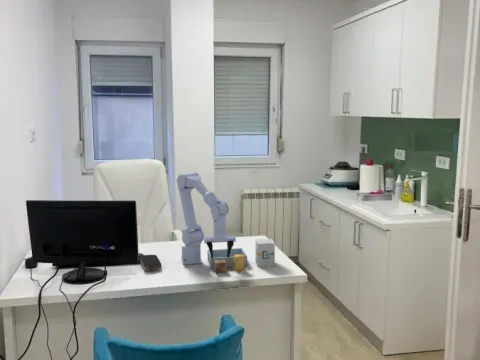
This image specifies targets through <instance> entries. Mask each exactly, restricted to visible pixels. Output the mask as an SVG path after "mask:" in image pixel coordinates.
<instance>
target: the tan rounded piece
mask: <svg viewBox="0 0 480 360" xmlns="http://www.w3.org/2000/svg"><path fill="white" fill-rule="evenodd" d="M233 271H234V272H235V271H236V272H237V273H243V272H245V266H244V255H242V254H236V255H234V267H233Z"/></svg>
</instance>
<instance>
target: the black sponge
mask: <svg viewBox="0 0 480 360" xmlns="http://www.w3.org/2000/svg"><path fill="white" fill-rule="evenodd" d="M139 258H140V259H139V261H140V264H141V265H142V268H143V269H144V271H146V272H147V271H148V272H149V271H161V270H162V268H163V267H162V262H161V261H160V259H159V257H158V256H157V254H142V255H140V257H139Z"/></svg>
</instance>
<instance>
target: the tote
mask: <svg viewBox="0 0 480 360" xmlns="http://www.w3.org/2000/svg"><path fill="white" fill-rule="evenodd" d="M206 252H207V253H206V254H207V262H208V264H209V267H210V269H214V260H221V259H225V261H226V267H227V268H234V255H236V254H242V255H244V267H247V266H248V256H247V255H248V254H246V252H245V251H244V249H243V248H242V247H237V248H232V249H231V252H230V256H229V257H227V248H221V249H219V248H218V249H213V258H211V254H210V251H209V249H207V251H206Z"/></svg>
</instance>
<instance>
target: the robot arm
mask: <svg viewBox="0 0 480 360" xmlns="http://www.w3.org/2000/svg"><path fill="white" fill-rule="evenodd" d="M201 180H202V179H201V176H200V174H199V173H198V172H196V171H195V172H190V173H189V172H188V173H180V174H179V175H178V176H177V178H176V184H177V189H178V192H179V197H180V203H181V206H182V207H181V208H182V212H183V218H184V223H185V226H184V227H183V228H182V230H181V232H182V233H181V234H182V236H181V239H182V240H181V241H182V242H183V244H181V262H182V265H194V264H203V261H202V255H201V254H202V253H201V251H202V250H201V246H202V245H201V244H202V243H203V242H204V244H206V246H207V248H208V250H209V251H210V254H211V258H213V250H214V249H213V246H214V245H213V243H214V244H215V243H226V245H227V246H226V249H227V257H229V256H230V252H231V249H233V246H234V243H236V242H237V238H236V237H235V236H227V214H228V213H229V205H228V204H227V202H225V201H223V200H220V198H219V197H217V195H216V194H215V193H214V192H212V191H209V190H208V189H207V187H206V185H205V184H204V182H202V181H201ZM194 189H195V191H197V192H198V193H199V194H200V195H201V196H202V198H203V201H204V203H205V204H206V205H207V206H208V207H209V209H210V213H211V216H212V221H213V236H212V237H206V238H205V233H204V232H203V229H202V226H201V225H200V224H198V223H197V219H196V214H195V208H194V203H193V199H192V191H193V190H194Z"/></svg>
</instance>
